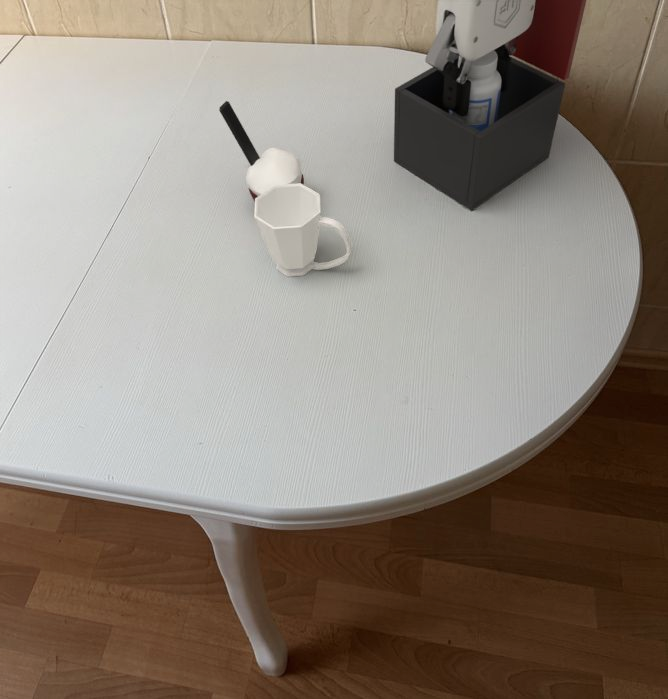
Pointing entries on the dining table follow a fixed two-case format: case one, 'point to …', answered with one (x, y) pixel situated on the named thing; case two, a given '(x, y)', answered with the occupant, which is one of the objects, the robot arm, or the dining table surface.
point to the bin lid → (552, 36)
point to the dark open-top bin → (475, 134)
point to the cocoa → (263, 159)
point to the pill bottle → (482, 92)
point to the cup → (294, 228)
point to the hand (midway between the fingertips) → (474, 97)
